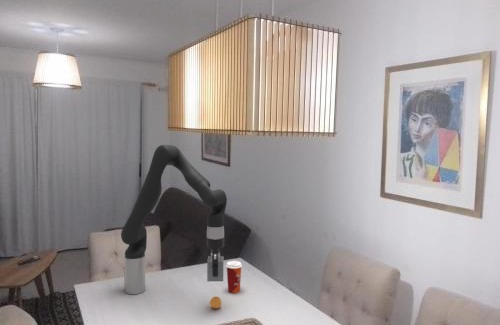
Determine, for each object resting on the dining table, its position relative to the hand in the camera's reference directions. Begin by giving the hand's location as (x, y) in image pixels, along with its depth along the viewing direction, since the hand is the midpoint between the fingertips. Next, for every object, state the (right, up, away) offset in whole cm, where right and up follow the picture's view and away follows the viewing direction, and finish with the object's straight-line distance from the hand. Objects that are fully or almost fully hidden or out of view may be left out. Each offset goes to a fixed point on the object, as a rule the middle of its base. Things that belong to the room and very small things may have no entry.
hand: (215, 273), depth 172 cm
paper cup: (+7, -14, +20) cm, 26 cm away
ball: (0, -13, +1) cm, 13 cm away
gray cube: (0, -2, 0) cm, 2 cm away
